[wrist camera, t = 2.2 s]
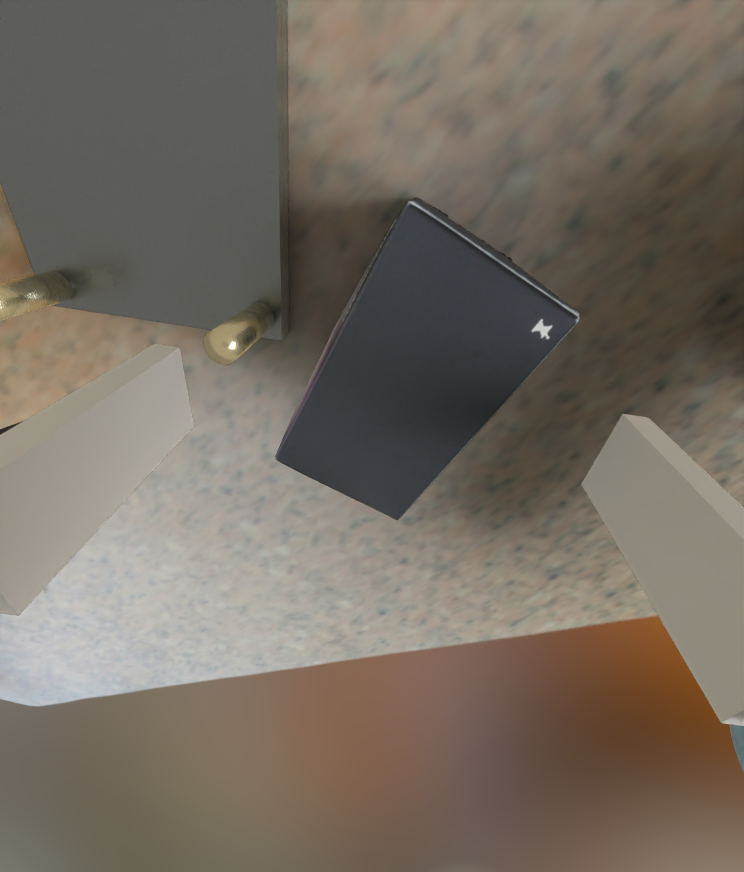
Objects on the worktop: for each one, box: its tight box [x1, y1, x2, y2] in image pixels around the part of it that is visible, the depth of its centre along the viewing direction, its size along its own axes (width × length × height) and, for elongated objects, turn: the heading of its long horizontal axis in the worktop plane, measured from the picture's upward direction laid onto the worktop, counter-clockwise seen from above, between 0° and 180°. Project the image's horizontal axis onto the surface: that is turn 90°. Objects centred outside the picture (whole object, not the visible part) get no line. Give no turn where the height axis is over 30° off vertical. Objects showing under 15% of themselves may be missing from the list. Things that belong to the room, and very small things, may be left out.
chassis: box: [0, 0, 289, 365], centre depth 15 cm, size 14×18×6 cm
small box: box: [275, 198, 579, 520], centre depth 17 cm, size 11×6×10 cm, turn 151°
